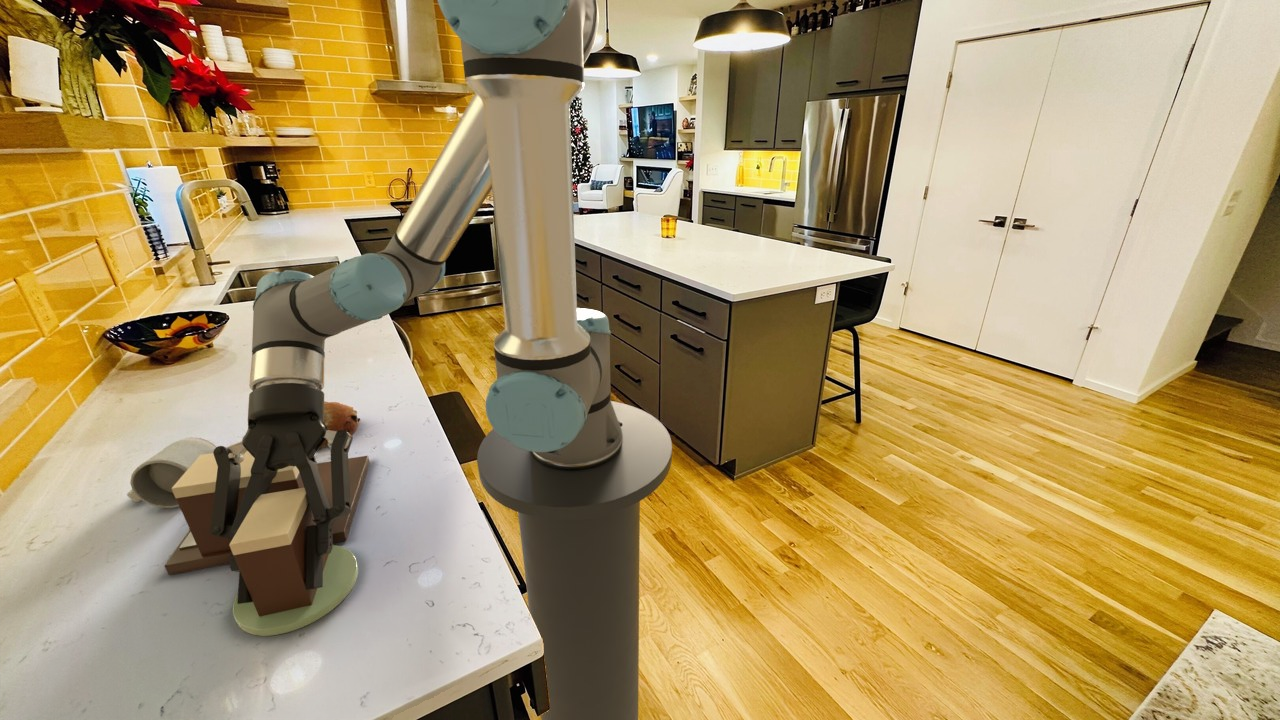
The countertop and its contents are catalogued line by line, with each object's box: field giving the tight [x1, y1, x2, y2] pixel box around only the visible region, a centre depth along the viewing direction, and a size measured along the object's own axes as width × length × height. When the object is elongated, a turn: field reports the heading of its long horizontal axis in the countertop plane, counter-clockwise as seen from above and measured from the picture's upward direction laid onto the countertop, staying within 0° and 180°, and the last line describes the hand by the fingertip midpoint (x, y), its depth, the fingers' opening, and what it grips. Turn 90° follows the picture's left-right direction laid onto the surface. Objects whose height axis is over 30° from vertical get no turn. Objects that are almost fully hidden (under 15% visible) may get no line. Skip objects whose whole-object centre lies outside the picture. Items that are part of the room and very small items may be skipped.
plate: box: [232, 544, 359, 637], centre depth 57 cm, size 12×12×1 cm
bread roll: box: [319, 400, 361, 449], centre depth 88 cm, size 10×10×8 cm
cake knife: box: [179, 532, 197, 549], centre depth 68 cm, size 14×2×1 cm, turn 18°
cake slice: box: [229, 488, 329, 616], centre depth 55 cm, size 5×8×10 cm, turn 18°
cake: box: [171, 451, 319, 556], centre depth 63 cm, size 12×7×10 cm, turn 108°
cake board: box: [164, 455, 371, 576], centre depth 70 cm, size 19×18×2 cm
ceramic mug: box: [126, 437, 217, 509], centre depth 72 cm, size 11×8×8 cm
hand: (281, 594), depth 53 cm, fingers open, 5 cm apart
